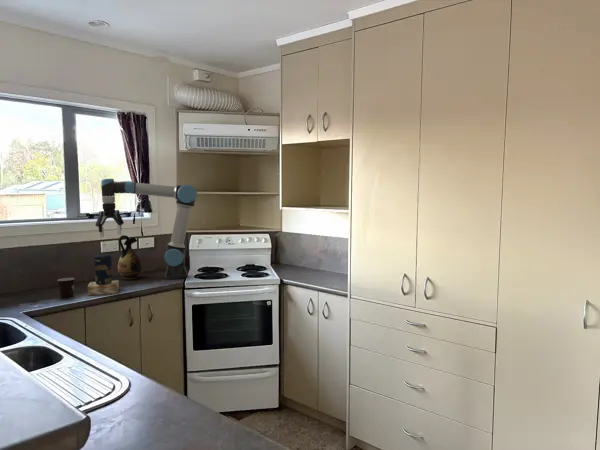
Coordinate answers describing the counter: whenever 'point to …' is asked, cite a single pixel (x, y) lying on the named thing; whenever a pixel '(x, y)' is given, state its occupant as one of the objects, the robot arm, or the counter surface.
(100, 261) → the canister
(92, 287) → the dock
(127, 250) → the ceramic jug
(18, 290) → the counter surface
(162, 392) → the counter surface
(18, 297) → the counter surface
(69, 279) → the coffee mug
